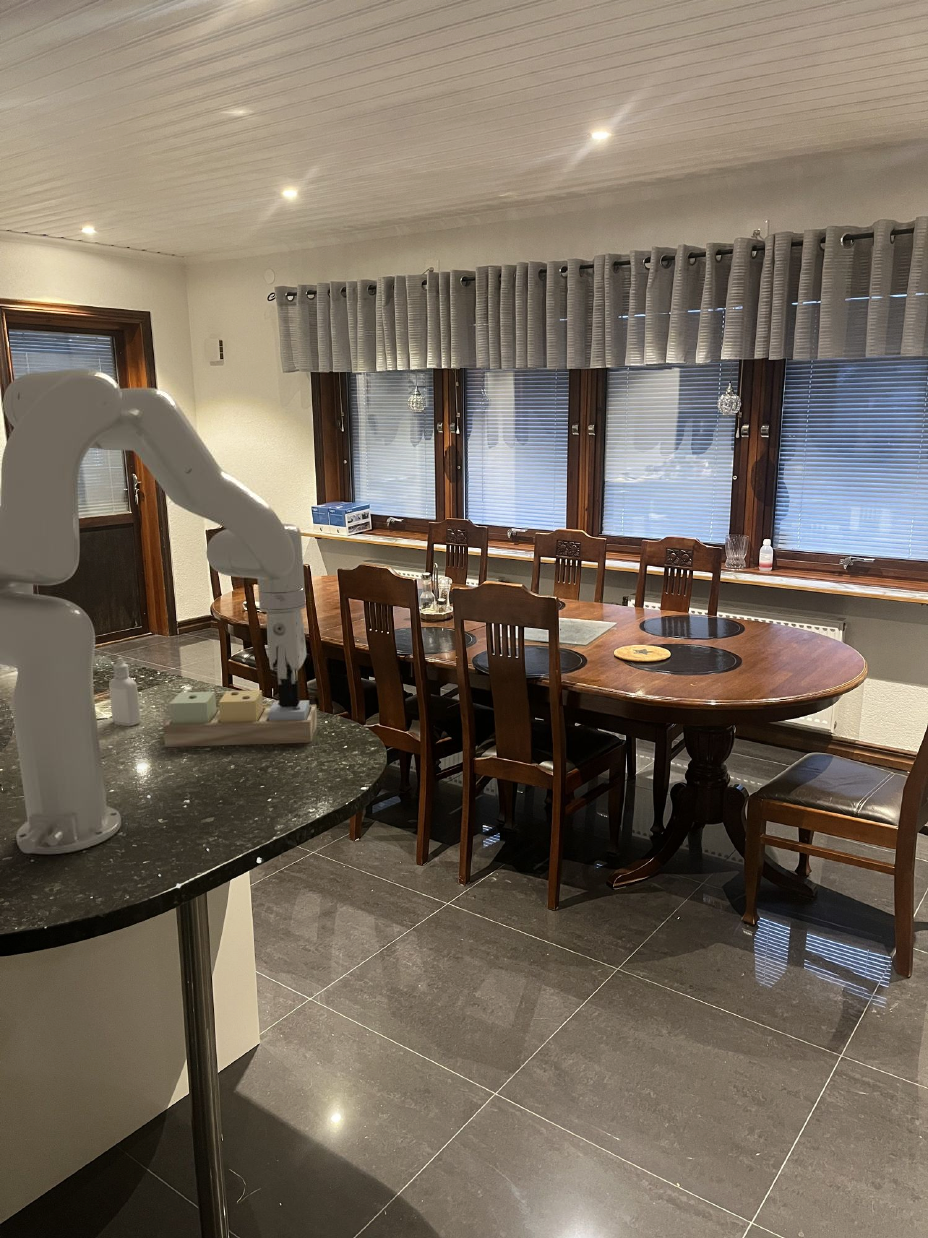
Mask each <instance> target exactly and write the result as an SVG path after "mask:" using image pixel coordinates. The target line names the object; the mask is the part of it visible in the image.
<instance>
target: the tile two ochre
mask: <svg viewBox="0 0 928 1238" xmlns="http://www.w3.org/2000/svg"><path fill="white" fill-rule="evenodd" d="M263 701H264V699H263V691H262V690H260V689H257V690H255V689H253V690H227V691H225V692H224V694H223V696H222V697H221V698H220V700H219V701H218V708H219V711H220V722H249V721H258V719H259V717H260V715H261V714H262V712H263V706H264V703H263Z"/></svg>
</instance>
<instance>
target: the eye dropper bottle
mask: <svg viewBox="0 0 928 1238" xmlns="http://www.w3.org/2000/svg"><path fill="white" fill-rule="evenodd" d="M113 675H114V677H113V678H112V679H110V681H109V683H108V689H109V690H108V691H109V699H110V708H111V715H112V716H111V719H112V721H113V723H114V724H116V725H119V726H122V727H133V726H135V725H139V724H141V711H140V709H141V708H140V700H139V692H138V684H137V683H136V681H135V680H134V679H133V678H132V677H130V671H129V665H128V663H125V662H124V660H123V657H118V658H117V663H116V664H115V665H113Z"/></svg>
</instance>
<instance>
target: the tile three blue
mask: <svg viewBox="0 0 928 1238" xmlns="http://www.w3.org/2000/svg"><path fill="white" fill-rule="evenodd" d="M309 705H310V700H307V699H306V700H300V702H299V704H298V706H286V707H281V706H280V705H279V700H277V701H276V700H275V701H273V703H272V705H270V706H271V708H270V710H269V712H268V718H269V721H282V720H307V718H308V716H309V713H310V708H309Z"/></svg>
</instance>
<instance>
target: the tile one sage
mask: <svg viewBox="0 0 928 1238" xmlns="http://www.w3.org/2000/svg"><path fill="white" fill-rule="evenodd" d="M169 708H170V718H171V719H172V724H183V723H209V722H210V721H211V719H212V718H213V717H214V715H215V714H216V712H217V709H216V708H217V699H216V691H192V692H191V691H190V692H189V691H188V692H187V691H185V692H179V693H178V694H177V695H176V696H175V697H174V698H173V700H171V702H170V703H169Z"/></svg>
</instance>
